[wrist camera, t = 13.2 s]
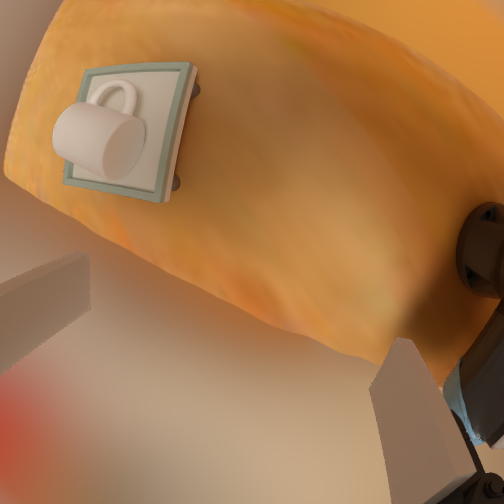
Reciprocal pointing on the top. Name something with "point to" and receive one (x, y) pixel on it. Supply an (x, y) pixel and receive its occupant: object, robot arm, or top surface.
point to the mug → (101, 134)
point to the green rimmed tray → (155, 123)
